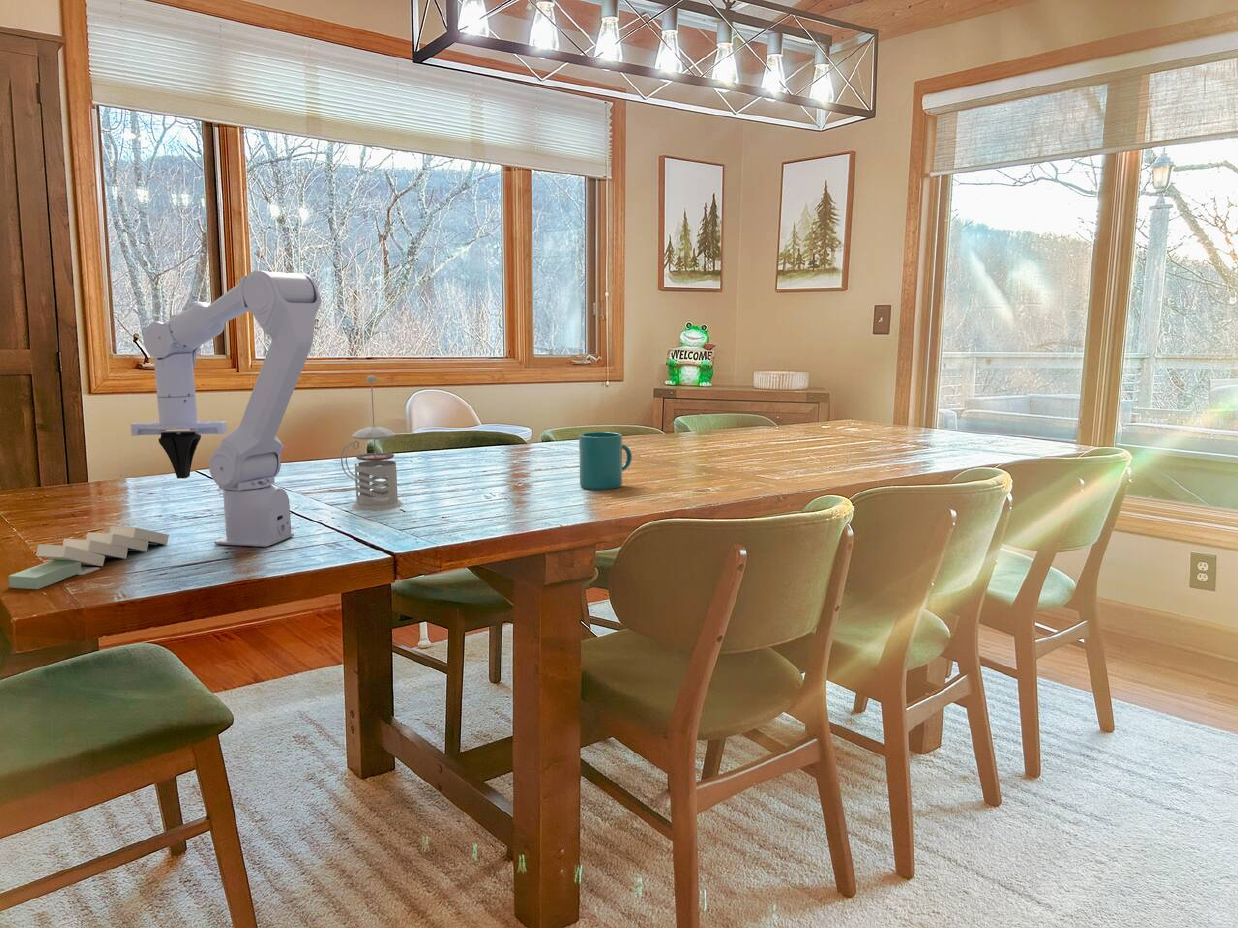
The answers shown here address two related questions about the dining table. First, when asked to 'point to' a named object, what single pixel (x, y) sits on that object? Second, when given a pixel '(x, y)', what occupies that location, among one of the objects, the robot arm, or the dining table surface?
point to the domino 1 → (45, 574)
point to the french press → (374, 470)
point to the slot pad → (87, 570)
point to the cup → (602, 460)
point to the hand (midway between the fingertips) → (183, 477)
